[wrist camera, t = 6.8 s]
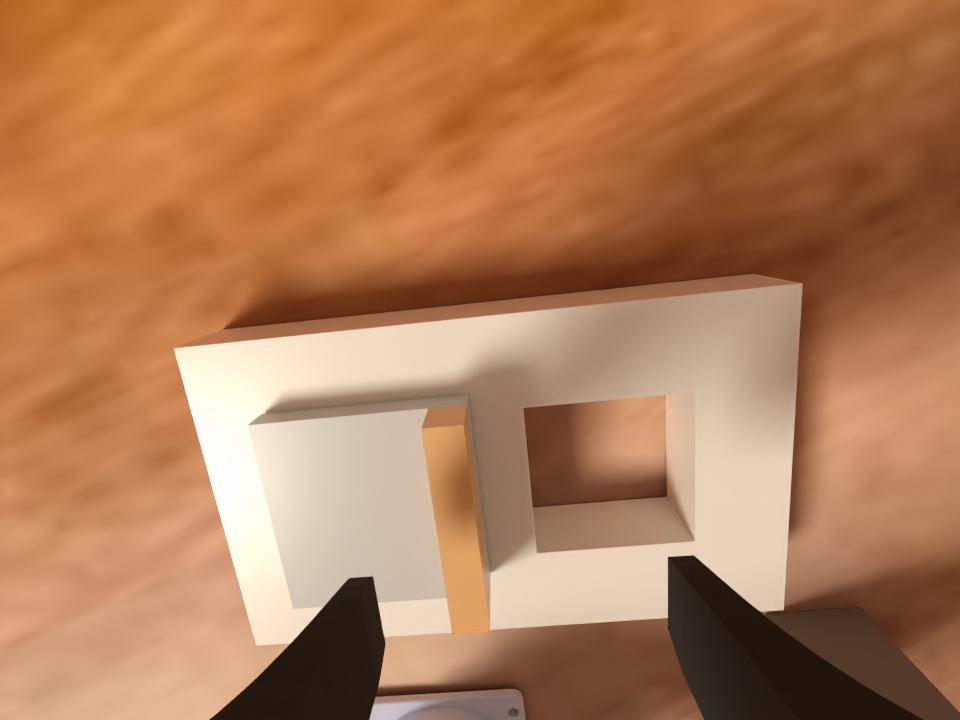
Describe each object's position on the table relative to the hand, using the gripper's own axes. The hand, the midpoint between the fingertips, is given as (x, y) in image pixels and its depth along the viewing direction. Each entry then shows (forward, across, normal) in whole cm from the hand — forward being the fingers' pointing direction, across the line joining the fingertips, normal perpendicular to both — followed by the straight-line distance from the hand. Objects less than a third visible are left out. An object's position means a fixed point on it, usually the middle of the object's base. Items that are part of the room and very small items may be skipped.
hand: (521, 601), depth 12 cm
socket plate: (+8, +1, 0) cm, 8 cm away
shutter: (+5, +5, 0) cm, 7 cm away
